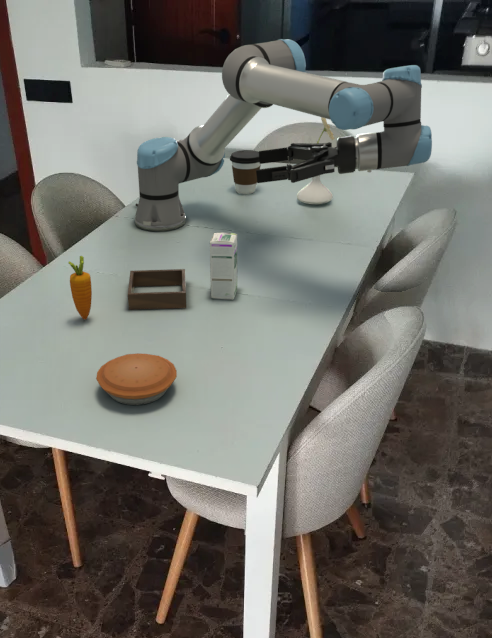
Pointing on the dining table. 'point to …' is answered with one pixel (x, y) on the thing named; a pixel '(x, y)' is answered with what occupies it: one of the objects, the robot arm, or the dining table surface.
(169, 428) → the dining table surface
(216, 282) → the syrup box
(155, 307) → the wooden frame
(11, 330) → the dining table surface
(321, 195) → the flower in vase
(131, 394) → the pie
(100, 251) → the dining table surface
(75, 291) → the carrot
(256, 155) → the coffee cup
